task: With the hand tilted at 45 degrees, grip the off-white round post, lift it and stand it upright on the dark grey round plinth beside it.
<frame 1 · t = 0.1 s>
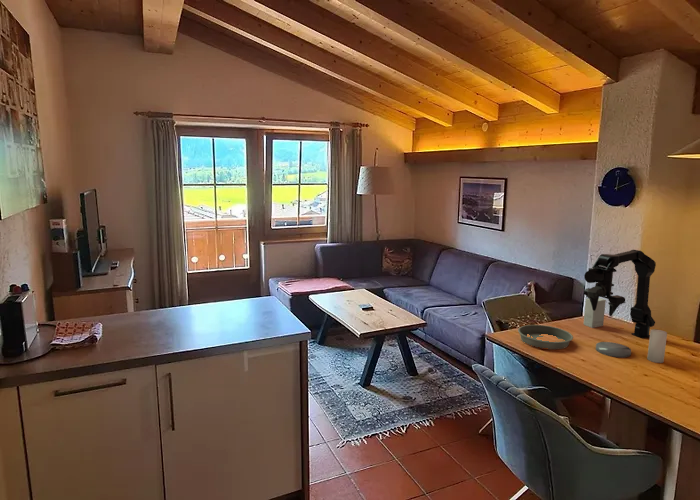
hand: (602, 313, 219), 15 cm above the table, tool pointing down, fingers open, 9 cm apart
white post: (655, 360, 200), on the table
slate plinth: (612, 351, 210), on the table
skincare box: (593, 326, 246), on the table
cake pan: (544, 342, 223), on the table
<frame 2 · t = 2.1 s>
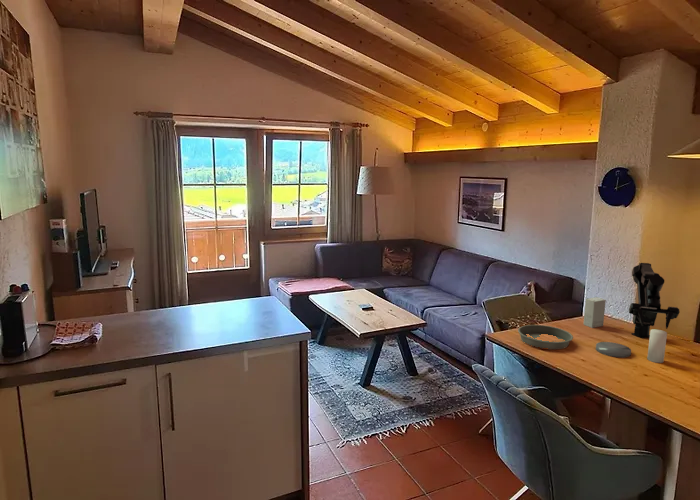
hand: (654, 327, 206), 13 cm above the table, tool tilted 45°, fingers open, 9 cm apart
nothing on the table moved.
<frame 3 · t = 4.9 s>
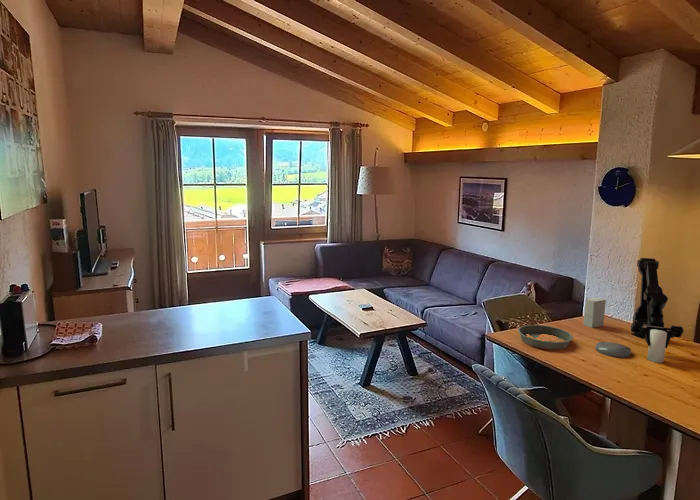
hand: (657, 346, 198), 7 cm above the table, tool tilted 45°, fingers closed on white post, 6 cm apart
white post: (655, 360, 200), on the table, touching gripper
everything else where it was.
when the fingers open (10 cm above the table, at t = 9.0 s): white post drops 1 cm, resting on slate plinth.
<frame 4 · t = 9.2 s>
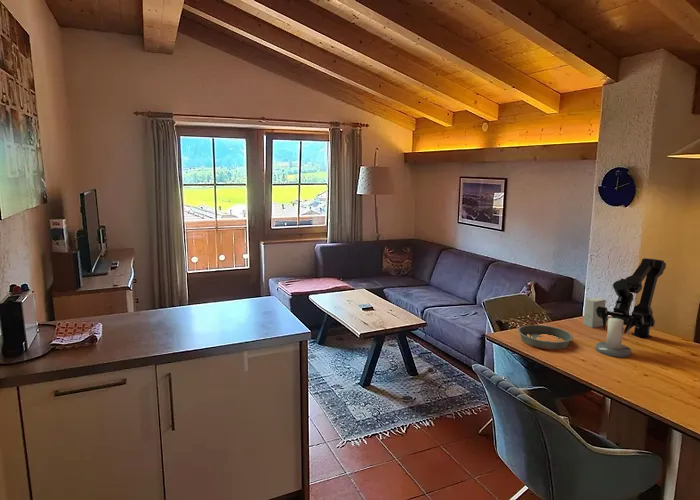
hand: (614, 331, 207), 10 cm above the table, tool tilted 45°, fingers open, 8 cm apart
white post: (613, 347, 210), point 2 cm above the table, touching slate plinth
everything else where it was.
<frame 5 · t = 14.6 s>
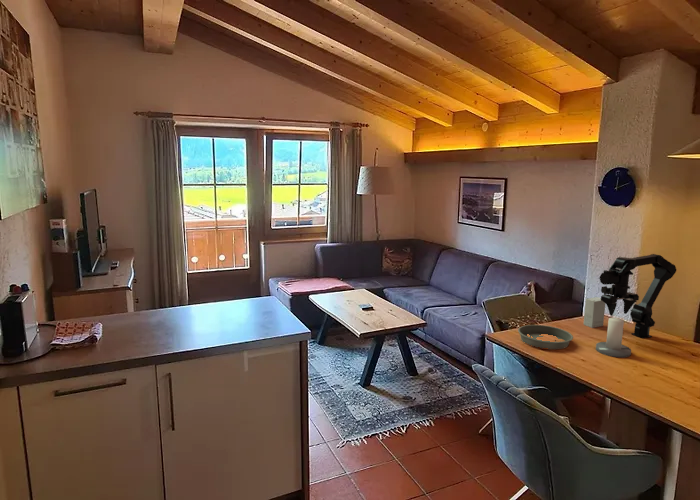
hand: (618, 314, 226), 12 cm above the table, tool pointing down, fingers open, 9 cm apart
nothing on the table moved.
at the end: white post 0.1 cm off-centre on the slate plinth, point 2.0 cm above the slate plinth's base; white post tilted 0°; the gripper is holding nothing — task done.
